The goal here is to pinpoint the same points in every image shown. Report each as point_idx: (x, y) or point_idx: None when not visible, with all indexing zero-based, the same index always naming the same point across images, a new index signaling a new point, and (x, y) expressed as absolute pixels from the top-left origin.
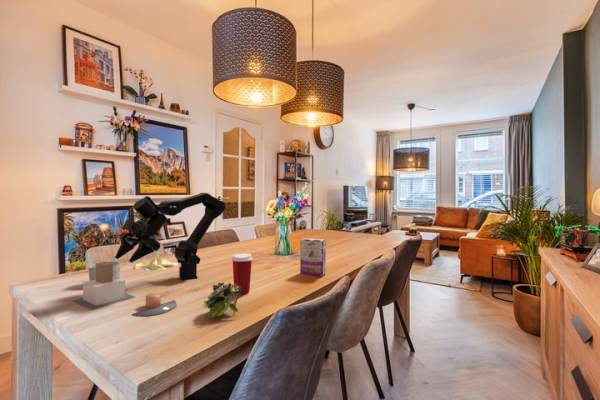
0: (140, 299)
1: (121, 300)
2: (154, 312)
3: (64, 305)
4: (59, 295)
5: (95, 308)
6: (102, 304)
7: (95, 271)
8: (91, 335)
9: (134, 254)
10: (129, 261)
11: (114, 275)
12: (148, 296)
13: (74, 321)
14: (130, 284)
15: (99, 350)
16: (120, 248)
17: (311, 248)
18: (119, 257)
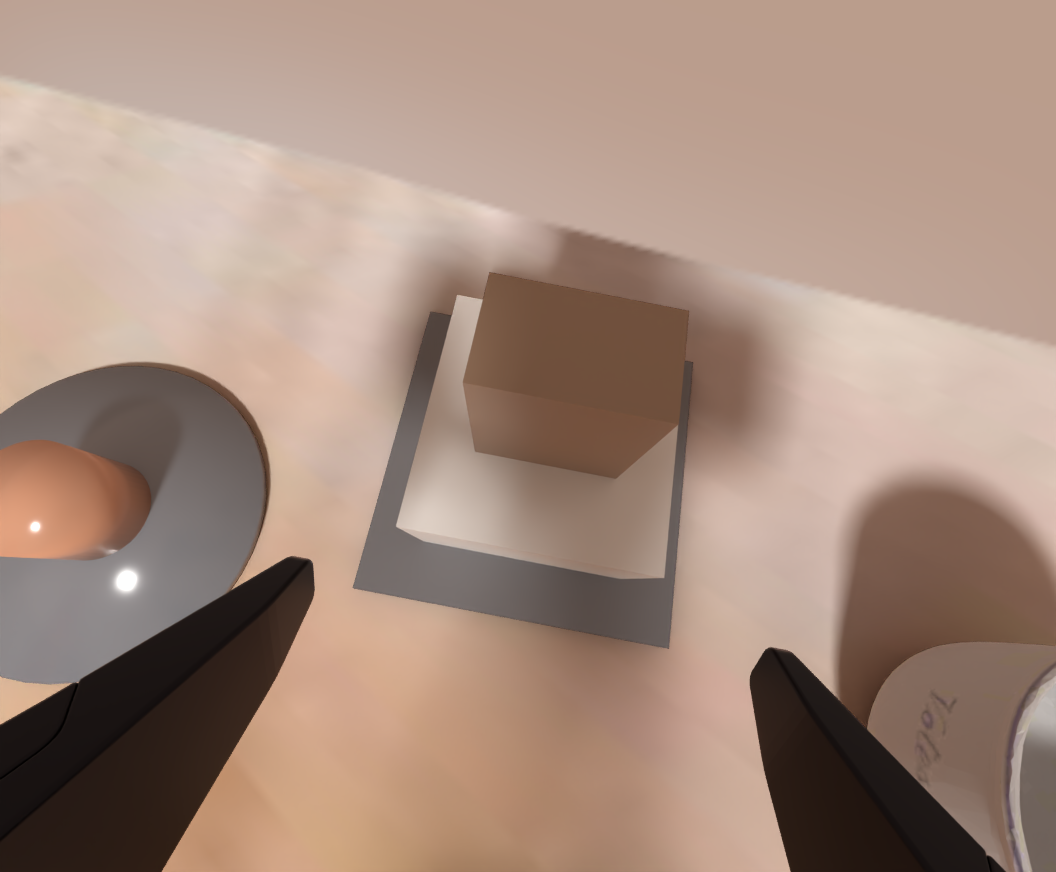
0: (314, 591)
1: (395, 487)
2: (17, 429)
3: None
4: (884, 416)
5: (428, 333)
6: None
7: (1024, 658)
8: (181, 158)
9: (149, 641)
10: (303, 563)
11: None
12: (50, 461)
13: (396, 219)
14: (728, 863)
15: (40, 96)
16: (936, 865)
17: None
18: (760, 726)
